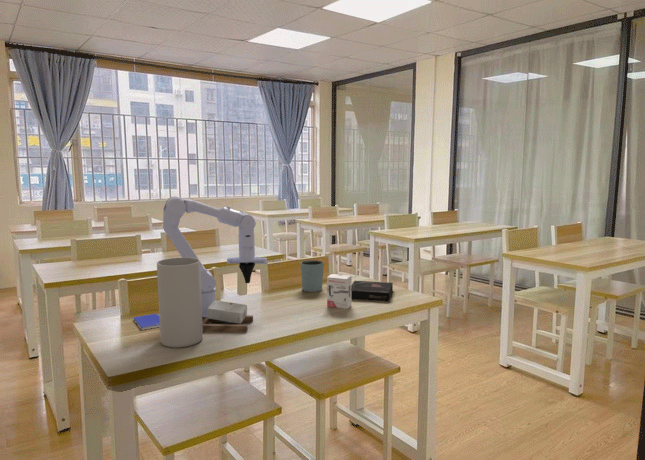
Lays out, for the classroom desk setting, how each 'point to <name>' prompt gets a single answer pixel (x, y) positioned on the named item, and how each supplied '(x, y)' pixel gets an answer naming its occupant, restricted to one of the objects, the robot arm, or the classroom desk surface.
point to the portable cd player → (371, 291)
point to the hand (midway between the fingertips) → (247, 282)
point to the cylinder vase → (180, 301)
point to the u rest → (226, 325)
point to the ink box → (339, 291)
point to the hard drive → (148, 321)
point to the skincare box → (227, 311)
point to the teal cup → (312, 275)
